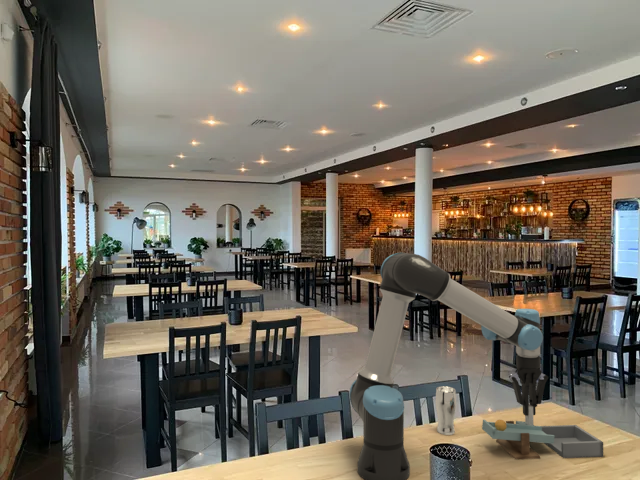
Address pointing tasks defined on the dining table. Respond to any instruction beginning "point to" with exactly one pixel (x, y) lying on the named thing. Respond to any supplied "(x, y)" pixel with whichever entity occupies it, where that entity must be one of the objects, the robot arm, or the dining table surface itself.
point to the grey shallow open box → (573, 442)
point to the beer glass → (445, 409)
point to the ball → (500, 425)
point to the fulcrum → (518, 447)
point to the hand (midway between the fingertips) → (529, 424)
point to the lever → (517, 432)
